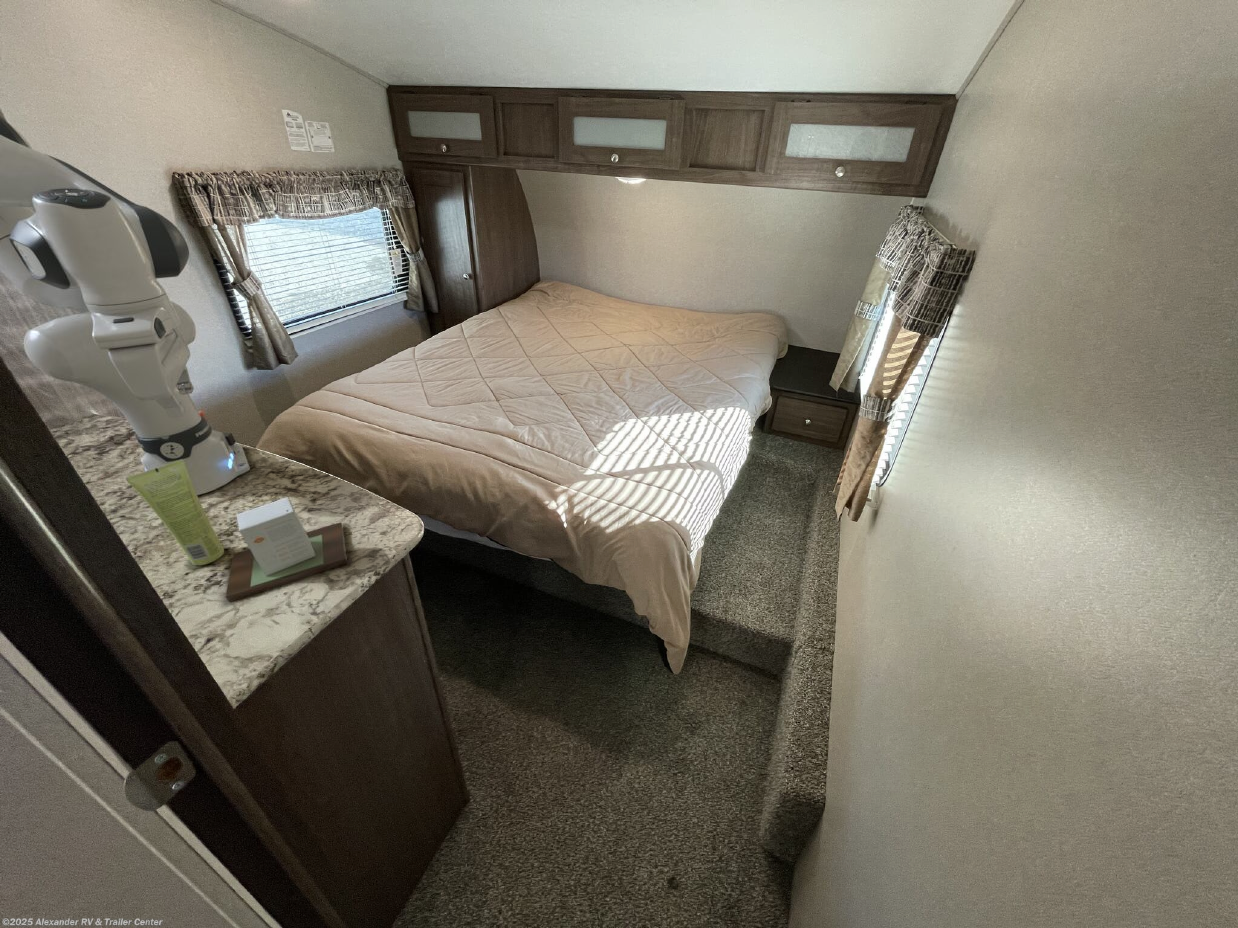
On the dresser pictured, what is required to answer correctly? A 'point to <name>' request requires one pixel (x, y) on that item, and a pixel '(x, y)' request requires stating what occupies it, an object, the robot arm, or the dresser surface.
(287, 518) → the small box
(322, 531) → the walnut board
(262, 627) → the dresser surface
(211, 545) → the tube
